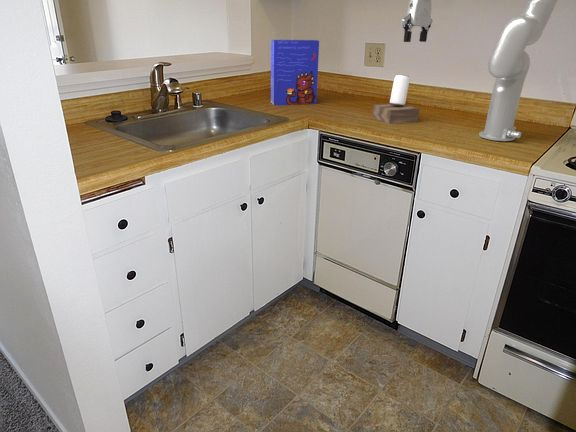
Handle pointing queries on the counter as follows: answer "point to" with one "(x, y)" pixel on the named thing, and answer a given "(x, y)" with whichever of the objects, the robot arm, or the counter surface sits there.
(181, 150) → the counter surface
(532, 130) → the counter surface
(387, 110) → the walnut block
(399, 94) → the can
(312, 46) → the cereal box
